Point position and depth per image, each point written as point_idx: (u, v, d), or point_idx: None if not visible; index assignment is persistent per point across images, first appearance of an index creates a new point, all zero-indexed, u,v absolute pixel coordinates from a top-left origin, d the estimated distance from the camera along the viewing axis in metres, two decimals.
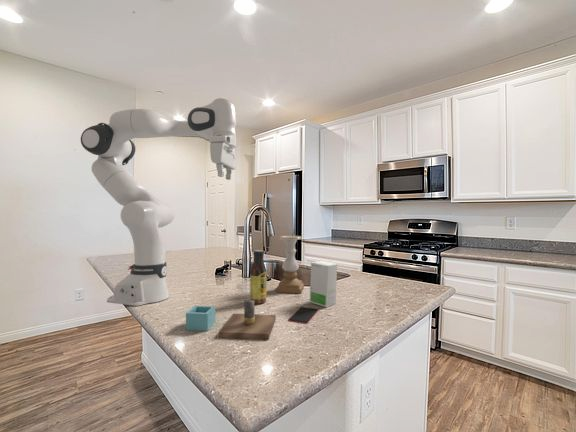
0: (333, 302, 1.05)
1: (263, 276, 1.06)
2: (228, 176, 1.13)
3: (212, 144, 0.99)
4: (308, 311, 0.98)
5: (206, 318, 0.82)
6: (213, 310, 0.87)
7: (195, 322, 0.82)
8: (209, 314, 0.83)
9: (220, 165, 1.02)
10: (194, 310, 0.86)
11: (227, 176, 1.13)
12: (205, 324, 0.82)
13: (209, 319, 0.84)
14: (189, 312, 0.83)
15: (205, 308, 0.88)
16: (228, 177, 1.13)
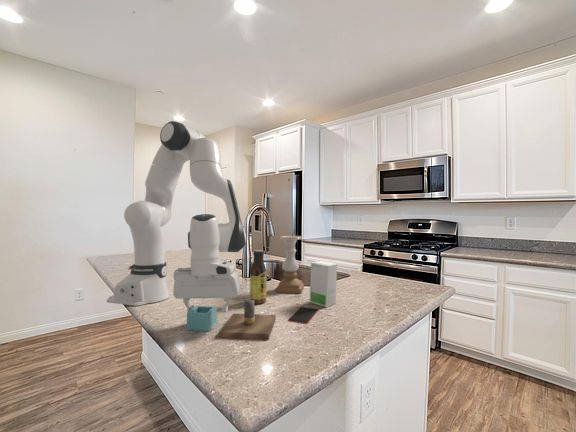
0: (333, 302, 1.05)
1: (263, 276, 1.06)
2: (192, 308, 0.87)
3: (234, 277, 0.84)
4: (308, 311, 0.98)
5: (207, 319, 0.82)
6: (214, 310, 0.87)
7: (196, 322, 0.82)
8: (210, 314, 0.83)
9: (230, 298, 0.86)
10: (195, 310, 0.86)
11: (192, 308, 0.86)
12: (206, 324, 0.82)
13: (210, 319, 0.84)
14: (190, 312, 0.83)
15: (206, 308, 0.88)
16: None
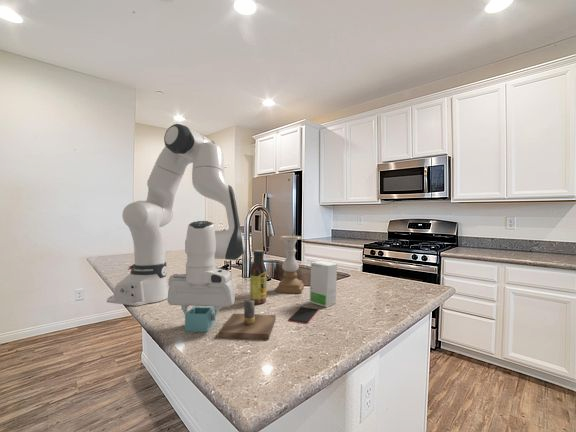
0: (333, 302, 1.05)
1: (263, 276, 1.06)
2: None
3: (229, 286, 0.83)
4: (308, 311, 0.98)
5: (206, 319, 0.81)
6: (212, 311, 0.86)
7: (194, 323, 0.81)
8: (209, 315, 0.83)
9: (220, 306, 0.86)
10: (193, 312, 0.86)
11: None
12: (205, 325, 0.81)
13: (209, 320, 0.83)
14: (188, 313, 0.82)
15: (204, 309, 0.87)
16: None
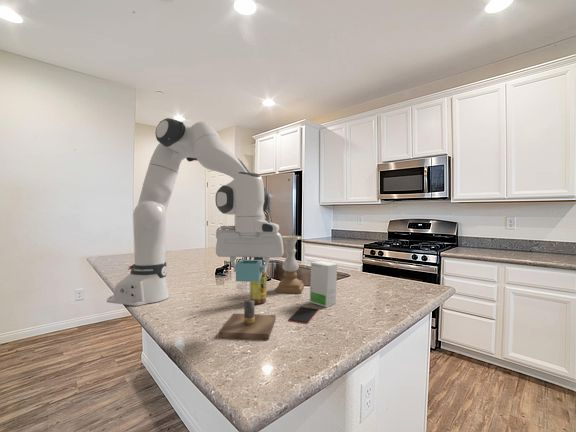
0: (333, 302, 1.05)
1: (263, 276, 1.06)
2: None
3: (279, 236, 0.82)
4: (308, 311, 0.98)
5: (257, 269, 0.80)
6: (261, 263, 0.85)
7: (245, 273, 0.80)
8: (259, 265, 0.81)
9: (269, 258, 0.84)
10: None
11: None
12: (256, 275, 0.80)
13: (259, 270, 0.82)
14: (239, 263, 0.81)
15: (252, 262, 0.86)
16: None
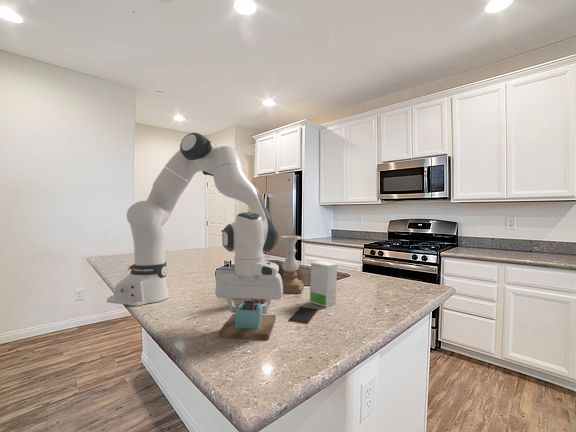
0: (333, 302, 1.05)
1: None
2: (236, 308, 0.85)
3: (279, 278, 0.82)
4: (307, 311, 0.98)
5: (257, 316, 0.80)
6: (260, 307, 0.85)
7: (244, 319, 0.80)
8: (258, 311, 0.82)
9: None
10: (241, 308, 0.84)
11: (236, 308, 0.84)
12: (255, 322, 0.80)
13: (259, 316, 0.82)
14: (238, 310, 0.81)
15: None
16: None
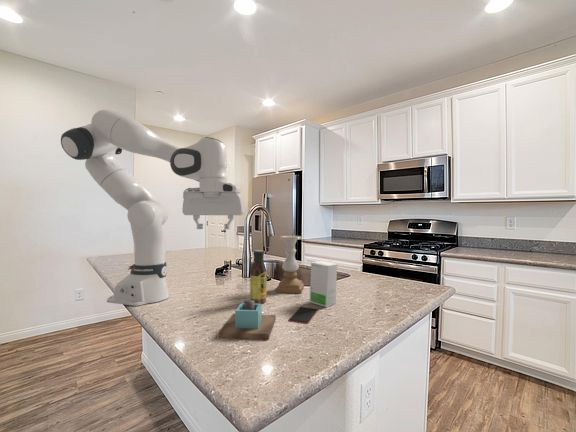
0: (333, 302, 1.05)
1: (263, 276, 1.06)
2: (201, 226, 0.94)
3: (239, 195, 0.90)
4: (307, 311, 0.98)
5: (257, 316, 0.80)
6: (260, 307, 0.85)
7: (244, 319, 0.80)
8: (258, 311, 0.82)
9: (233, 217, 0.93)
10: (241, 308, 0.84)
11: (201, 225, 0.93)
12: (255, 322, 0.80)
13: (259, 316, 0.82)
14: (238, 310, 0.81)
15: None
16: (202, 226, 0.94)
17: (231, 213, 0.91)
